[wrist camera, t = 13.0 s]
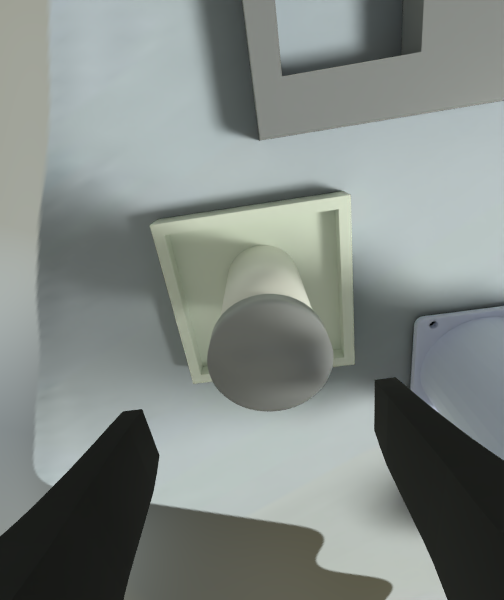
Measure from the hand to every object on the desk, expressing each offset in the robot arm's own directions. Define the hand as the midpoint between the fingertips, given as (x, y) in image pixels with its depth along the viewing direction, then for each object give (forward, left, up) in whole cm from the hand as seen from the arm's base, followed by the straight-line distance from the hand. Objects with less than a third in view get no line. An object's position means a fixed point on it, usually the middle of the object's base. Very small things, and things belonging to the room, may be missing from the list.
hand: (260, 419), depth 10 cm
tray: (0, 0, -10) cm, 10 cm away
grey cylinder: (-1, -1, -10) cm, 10 cm away
